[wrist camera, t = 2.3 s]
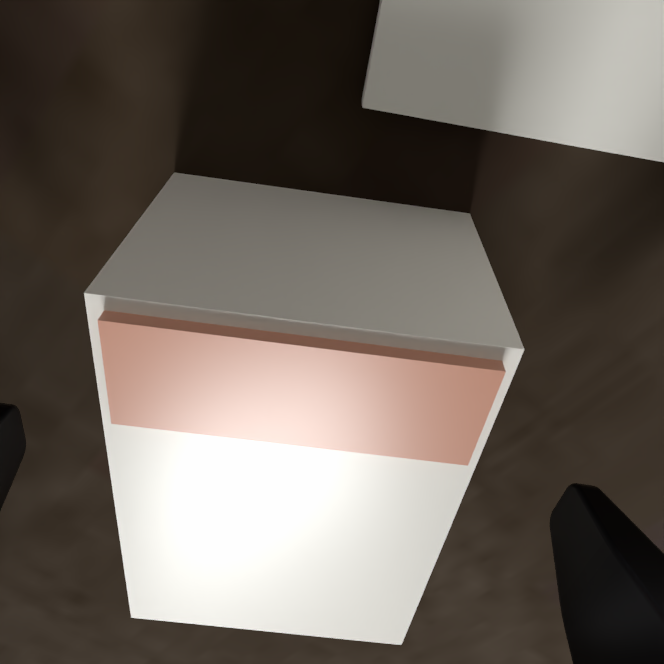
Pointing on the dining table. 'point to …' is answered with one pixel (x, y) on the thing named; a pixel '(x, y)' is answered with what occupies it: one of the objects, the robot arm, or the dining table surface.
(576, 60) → the mat
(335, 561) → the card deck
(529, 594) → the dining table surface
